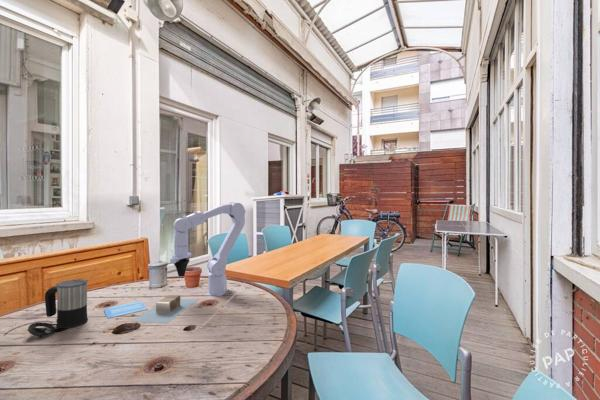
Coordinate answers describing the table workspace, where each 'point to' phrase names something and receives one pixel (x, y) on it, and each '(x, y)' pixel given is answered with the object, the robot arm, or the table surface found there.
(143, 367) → the table surface
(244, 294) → the table surface
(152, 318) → the light blue mat
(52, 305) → the milk frother
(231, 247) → the robot arm
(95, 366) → the table surface
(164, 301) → the walnut block
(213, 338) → the table surface
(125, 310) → the blue streaked flat panel
